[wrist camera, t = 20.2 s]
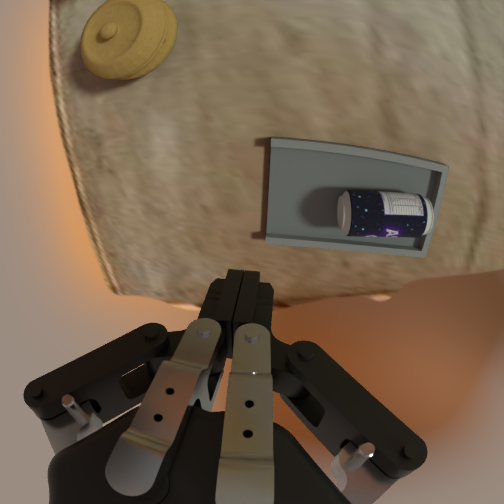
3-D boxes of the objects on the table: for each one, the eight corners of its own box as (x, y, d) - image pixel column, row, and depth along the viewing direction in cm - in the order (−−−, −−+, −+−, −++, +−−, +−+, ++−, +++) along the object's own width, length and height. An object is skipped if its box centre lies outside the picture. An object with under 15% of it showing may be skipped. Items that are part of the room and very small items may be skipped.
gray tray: (266, 236, 40) (265, 243, 39) (271, 136, 33) (271, 138, 32) (420, 251, 39) (425, 257, 37) (442, 163, 32) (449, 166, 30)
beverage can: (344, 235, 31) (435, 237, 29) (343, 185, 31) (434, 191, 29) (336, 236, 37) (417, 238, 35) (335, 193, 36) (415, 197, 35)
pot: (167, 89, 31) (129, 88, 23) (99, 72, 30) (53, 73, 21) (201, 11, 26) (173, -14, 17) (127, 1, 24) (87, -16, 16)
